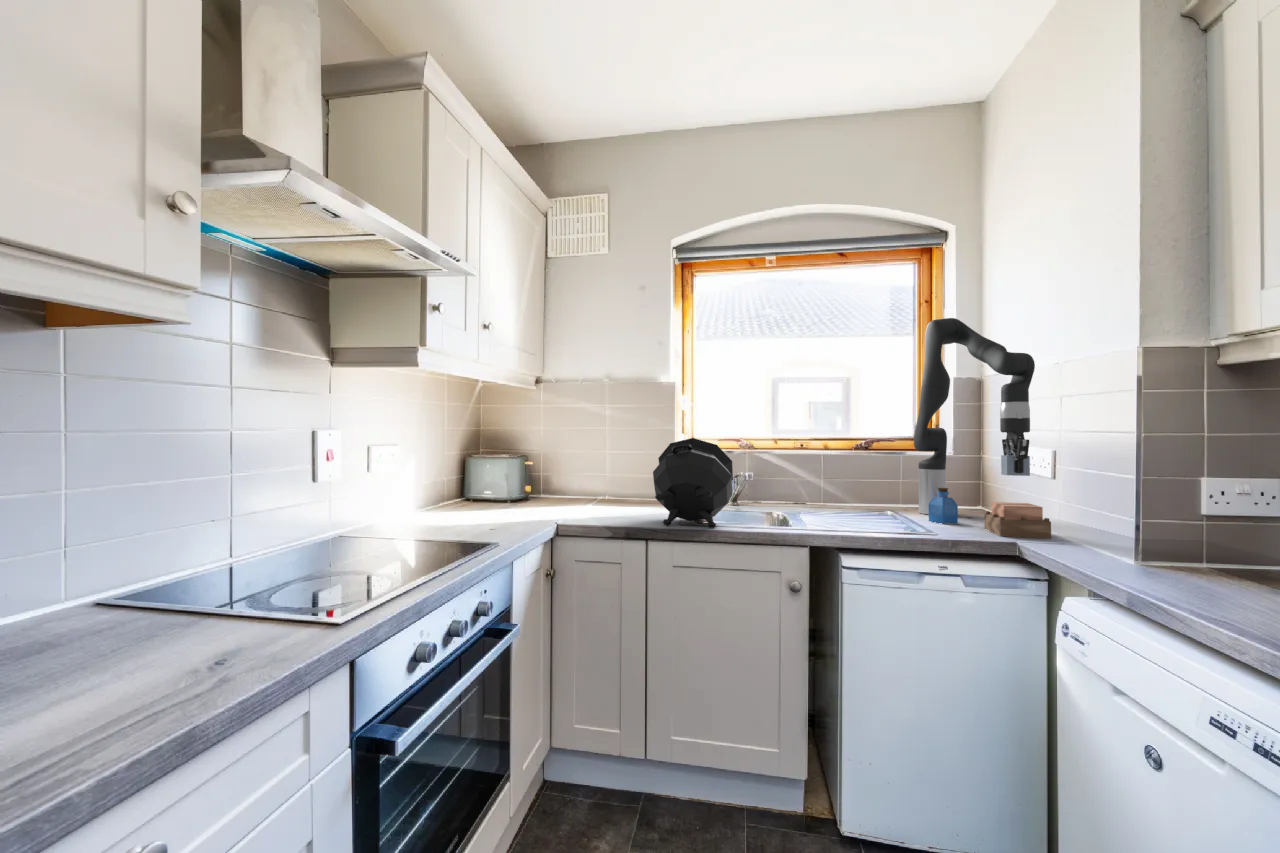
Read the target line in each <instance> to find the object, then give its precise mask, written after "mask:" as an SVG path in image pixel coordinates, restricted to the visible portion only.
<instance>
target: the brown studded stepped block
mask: <svg viewBox="0 0 1280 853" xmlns="http://www.w3.org/2000/svg"><path fill="white" fill-rule="evenodd" d="M990 503H991V504H990V507H991V509H990V510H991V511H989V510H988V511H985V513H983V514H984V515H983V516H984V518H983V520H984V521H983V522H984V523H983V524H984V530H985V529H987V530H989V531H988V532H990V531H991V532H990V533H992V532H993V533H992V534H994V533H995V534H994V535H996V534H997V535H996V536H998V535H999V537H1001V536H1008V537H1007V538H1022V537H1023V538H1024V539H1026V538H1027V539H1047V540H1048V539H1050V540H1051V539H1052V522H1051V521H1050V518H1047V517H1044V518H1043V515H1044V514H1043V511H1044V510H1043V509H1044V508H1043V506H1040V505H1036V504H1033V503H1030V502H1008V501H1007V502H1006V501H1005V502H1003V501H999V502H998V501H991V502H990ZM987 530H986V531H987ZM1023 538H1022V539H1023Z"/></svg>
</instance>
